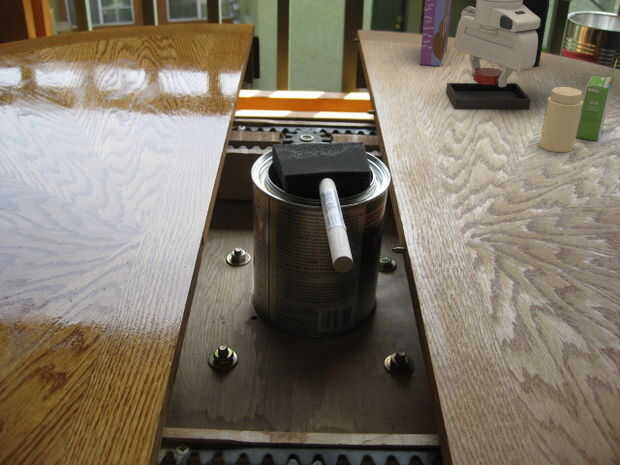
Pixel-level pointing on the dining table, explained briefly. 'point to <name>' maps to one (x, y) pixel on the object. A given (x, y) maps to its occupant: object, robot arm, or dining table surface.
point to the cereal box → (435, 31)
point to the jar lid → (486, 75)
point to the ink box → (594, 107)
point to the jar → (561, 119)
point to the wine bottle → (539, 6)
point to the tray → (487, 96)
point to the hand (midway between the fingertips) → (488, 81)
